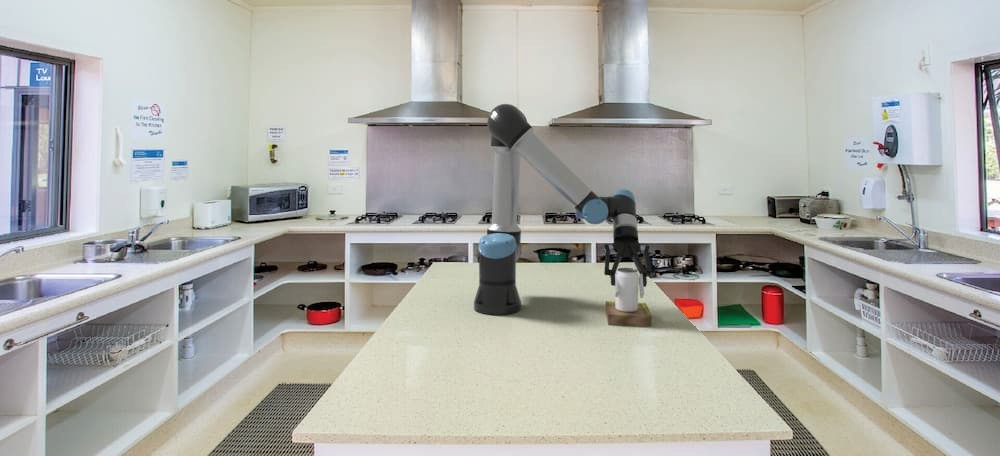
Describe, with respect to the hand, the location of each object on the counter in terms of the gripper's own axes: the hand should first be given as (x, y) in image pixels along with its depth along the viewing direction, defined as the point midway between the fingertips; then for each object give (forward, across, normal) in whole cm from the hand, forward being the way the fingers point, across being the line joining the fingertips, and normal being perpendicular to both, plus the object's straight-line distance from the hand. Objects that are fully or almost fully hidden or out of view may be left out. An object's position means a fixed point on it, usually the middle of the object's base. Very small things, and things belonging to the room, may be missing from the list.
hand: (629, 294), depth 144 cm
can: (+1, 0, -6) cm, 7 cm away
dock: (+3, 0, -8) cm, 9 cm away
